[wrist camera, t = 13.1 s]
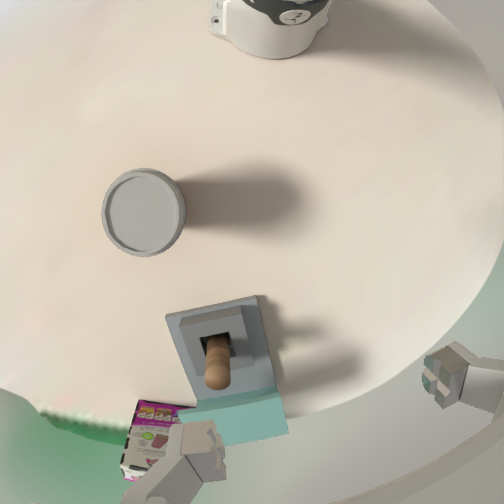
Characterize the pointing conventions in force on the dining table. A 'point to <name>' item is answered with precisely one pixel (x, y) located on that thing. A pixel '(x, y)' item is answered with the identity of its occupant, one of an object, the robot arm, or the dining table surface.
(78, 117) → the dining table surface
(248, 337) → the socket station
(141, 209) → the disposable coffee cup
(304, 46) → the robot arm
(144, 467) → the candy bar box
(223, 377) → the walnut dowel
